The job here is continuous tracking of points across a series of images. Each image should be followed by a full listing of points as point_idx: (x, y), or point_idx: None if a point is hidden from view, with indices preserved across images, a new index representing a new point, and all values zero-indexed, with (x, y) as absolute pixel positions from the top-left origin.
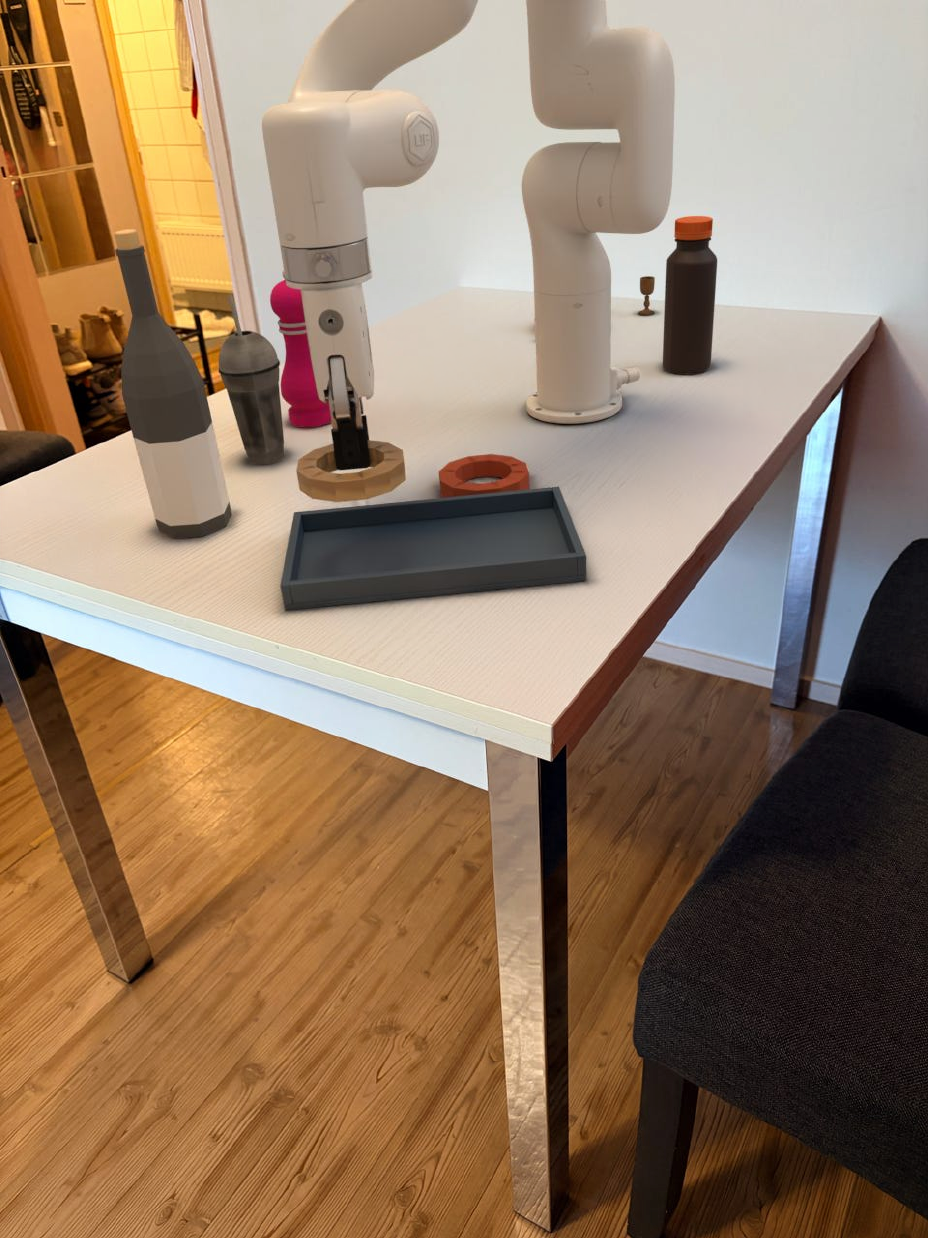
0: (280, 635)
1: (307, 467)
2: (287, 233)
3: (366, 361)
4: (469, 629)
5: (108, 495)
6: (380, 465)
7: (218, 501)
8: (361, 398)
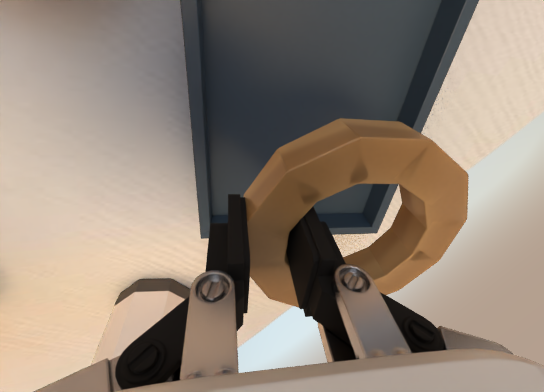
0: None
1: None
2: None
3: None
4: (520, 26)
5: (90, 359)
6: (425, 191)
7: (168, 306)
8: (215, 319)
